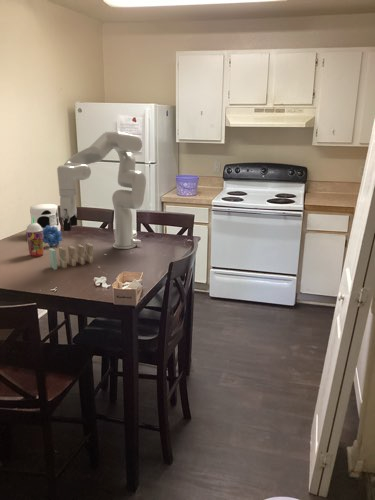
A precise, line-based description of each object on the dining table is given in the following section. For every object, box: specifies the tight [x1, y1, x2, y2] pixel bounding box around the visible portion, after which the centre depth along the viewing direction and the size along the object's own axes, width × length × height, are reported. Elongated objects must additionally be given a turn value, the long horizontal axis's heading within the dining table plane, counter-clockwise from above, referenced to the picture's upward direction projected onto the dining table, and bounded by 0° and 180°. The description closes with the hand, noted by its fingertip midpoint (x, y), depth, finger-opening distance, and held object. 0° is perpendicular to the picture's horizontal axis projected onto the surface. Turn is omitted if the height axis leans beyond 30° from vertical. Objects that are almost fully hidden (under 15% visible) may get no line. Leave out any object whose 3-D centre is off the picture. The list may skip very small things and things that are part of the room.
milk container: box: [29, 203, 61, 232], centre depth 261 cm, size 17×17×18 cm
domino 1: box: [48, 247, 58, 270], centre depth 206 cm, size 2×5×9 cm, turn 33°
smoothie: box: [25, 217, 44, 258], centre depth 223 cm, size 8×8×20 cm
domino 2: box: [58, 246, 67, 269], centre depth 208 cm, size 2×5×9 cm, turn 33°
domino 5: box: [85, 242, 94, 264], centre depth 215 cm, size 2×5×9 cm, turn 34°
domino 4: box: [76, 243, 85, 266], centre depth 213 cm, size 2×5×9 cm, turn 33°
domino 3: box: [67, 245, 77, 267], centre depth 211 cm, size 2×5×9 cm, turn 34°
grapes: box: [42, 225, 63, 247], centre depth 239 cm, size 12×7×12 cm, turn 107°
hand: (70, 228), depth 207 cm, fingers open, 9 cm apart
